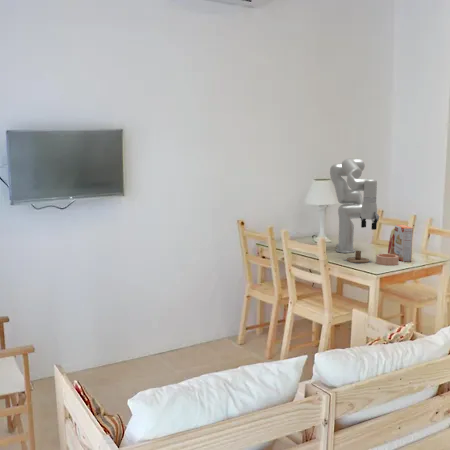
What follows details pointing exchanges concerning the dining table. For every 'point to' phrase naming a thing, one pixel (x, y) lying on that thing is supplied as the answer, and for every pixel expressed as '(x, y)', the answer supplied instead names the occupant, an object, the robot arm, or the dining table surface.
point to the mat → (358, 263)
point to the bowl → (387, 259)
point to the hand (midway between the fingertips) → (368, 228)
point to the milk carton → (391, 242)
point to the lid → (357, 258)
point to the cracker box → (403, 242)
